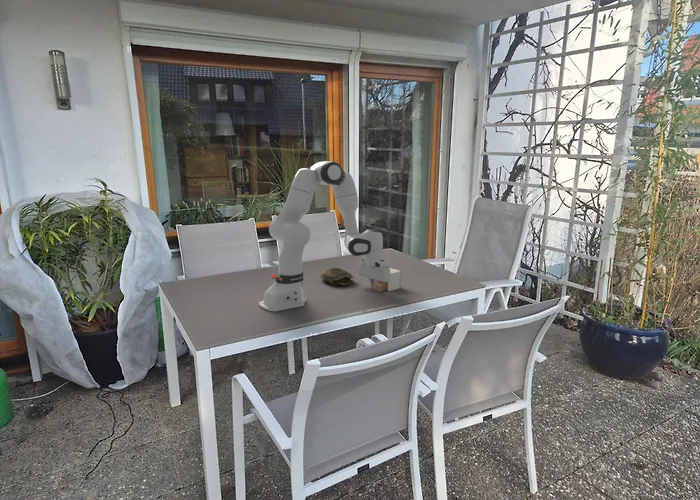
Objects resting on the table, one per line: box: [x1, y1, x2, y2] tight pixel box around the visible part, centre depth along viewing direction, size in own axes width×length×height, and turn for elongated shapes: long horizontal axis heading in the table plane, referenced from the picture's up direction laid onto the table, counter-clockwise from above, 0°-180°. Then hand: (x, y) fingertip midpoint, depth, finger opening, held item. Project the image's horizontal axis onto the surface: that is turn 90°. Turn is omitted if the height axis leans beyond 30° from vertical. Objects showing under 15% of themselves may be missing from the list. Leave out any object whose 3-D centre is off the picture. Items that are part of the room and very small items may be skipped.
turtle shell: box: [320, 267, 355, 286], centre depth 241 cm, size 16×9×20 cm
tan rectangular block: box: [370, 281, 388, 292], centre depth 229 cm, size 9×6×3 cm
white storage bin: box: [373, 267, 402, 292], centre depth 231 cm, size 8×14×9 cm, turn 42°
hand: (373, 286), depth 226 cm, fingers closed, pressing on tan rectangular block
